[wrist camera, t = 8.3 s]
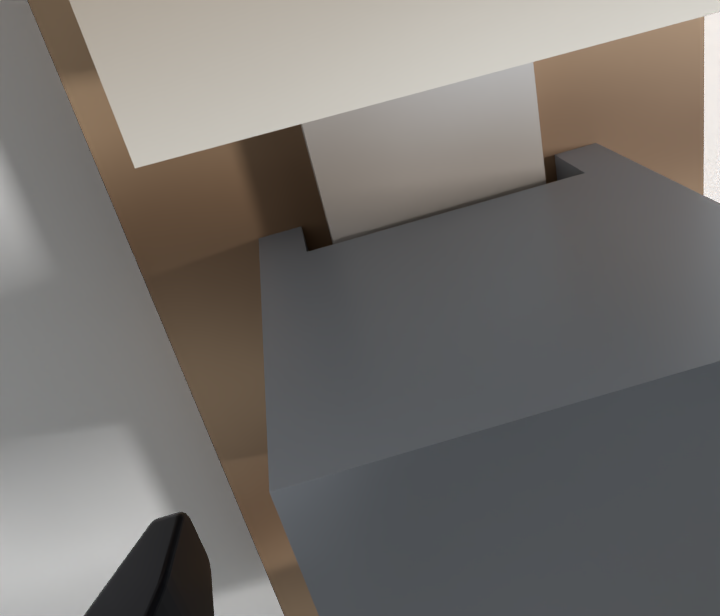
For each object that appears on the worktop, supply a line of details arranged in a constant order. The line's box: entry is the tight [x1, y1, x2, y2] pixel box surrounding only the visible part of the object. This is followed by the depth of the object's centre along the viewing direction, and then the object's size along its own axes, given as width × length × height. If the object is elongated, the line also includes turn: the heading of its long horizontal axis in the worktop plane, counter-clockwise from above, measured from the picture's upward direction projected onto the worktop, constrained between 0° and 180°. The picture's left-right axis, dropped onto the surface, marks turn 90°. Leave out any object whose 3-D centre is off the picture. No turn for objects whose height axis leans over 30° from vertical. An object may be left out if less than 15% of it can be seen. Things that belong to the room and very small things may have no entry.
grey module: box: [259, 143, 720, 616], centre depth 10 cm, size 4×6×6 cm
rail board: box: [28, 0, 720, 616], centre depth 9 cm, size 18×10×10 cm, turn 13°
